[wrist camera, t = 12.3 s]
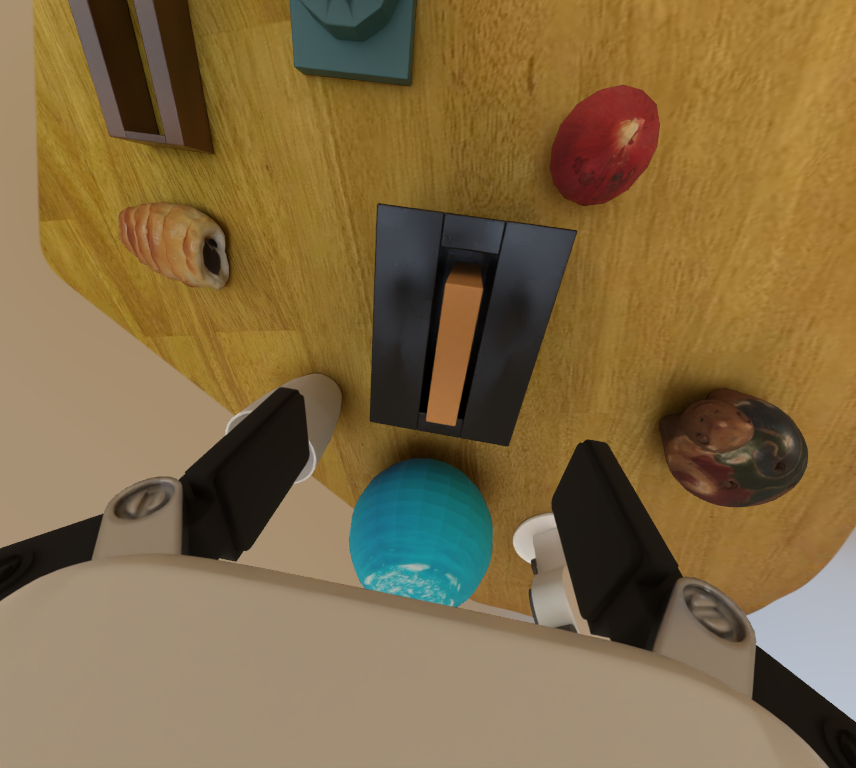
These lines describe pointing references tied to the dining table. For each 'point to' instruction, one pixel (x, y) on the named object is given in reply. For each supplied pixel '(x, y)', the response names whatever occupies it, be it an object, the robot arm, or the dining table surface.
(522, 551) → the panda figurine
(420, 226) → the toaster
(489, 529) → the decorative orb
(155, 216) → the pastry
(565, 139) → the onion
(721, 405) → the brown mottled ceramic figure
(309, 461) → the cup
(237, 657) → the robot arm
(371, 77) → the block
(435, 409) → the toast
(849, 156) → the dining table surface
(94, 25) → the brown rectangular frame
